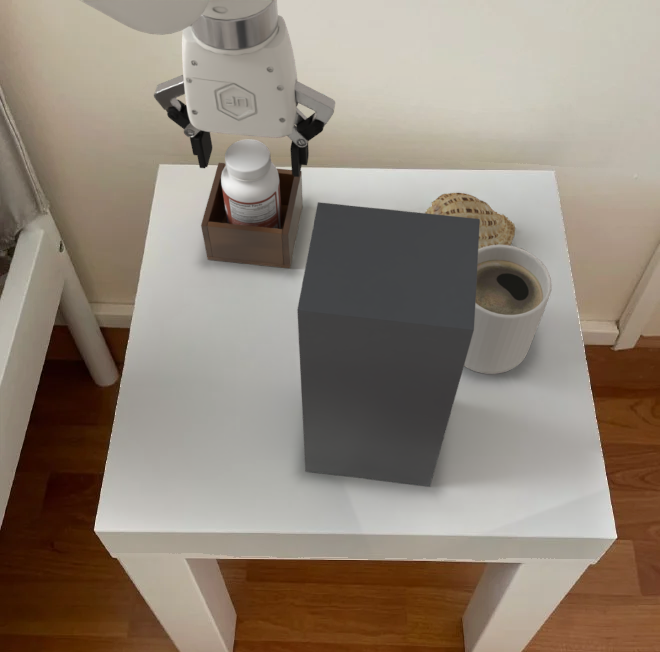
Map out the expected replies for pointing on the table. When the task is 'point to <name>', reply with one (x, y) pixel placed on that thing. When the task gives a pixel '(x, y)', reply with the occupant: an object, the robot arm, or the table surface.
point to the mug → (506, 307)
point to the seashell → (476, 217)
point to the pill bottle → (251, 186)
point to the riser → (383, 338)
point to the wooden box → (253, 227)
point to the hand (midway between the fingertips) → (252, 162)
